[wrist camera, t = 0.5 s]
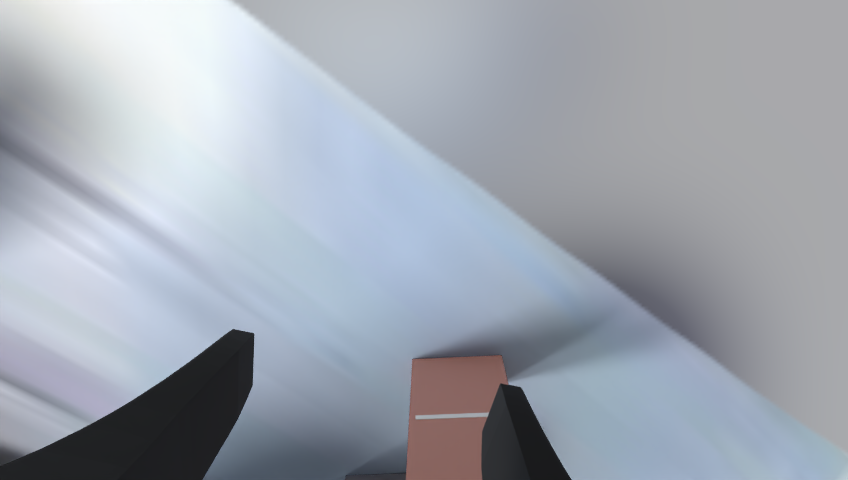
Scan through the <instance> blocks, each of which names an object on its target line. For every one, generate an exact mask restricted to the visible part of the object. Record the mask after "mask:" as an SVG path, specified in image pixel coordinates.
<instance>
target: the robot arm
mask: <svg viewBox="0 0 848 480" xmlns="http://www.w3.org/2000/svg"><path fill="white" fill-rule="evenodd" d="M253 357H254V333H250V332H245V331H240V330H235V329H233V330H231V331H229V332H228V333H227V334H225V335H224V336H223V337H221V338H220V339H219V340H218V341H216V342H215V343H214V344H212V345H211V346H210V347H208V348H207V349H206V350H205V351H203V352H202V353H201V354H199V355H198V356H197V357H195V358H194V359H192V360H191V361H190V362H188V363H187V364H186V365H184V366H183V367H181V368H180V369H179V370H177V371H176V372H174V373H173V374H172V375H170V376H169V377H167V378H166V379H164V380H163V381H161V382H160V383H158V384H157V385H155V386H154V387H152V388H151V389H149V390H148V391H146V392H145V393H143V394H141V395H140V396H138V397H137V398H135V399H134V400H132V401H130V402H129V403H127V404H125V405H124V406H122V407H120V408H119V409H117V410H115V411H114V412H112V413H110V414H108V415H107V416H105V417H103V418H101V419H99V420H98V421H96V422H94V423H92V424H90V425H88V426H86V427H84V428H83V429H81V430H79V431H77V432H75V433H73V434H71V435H69V436H67V437H65V438H62V439H60V440H58V441H56V442H54V443H52V444H50V445H48V446H46V447H44V448H42V449H40V450H37V451H35V452H33V453H31V454H28V455H26V456H24V457H22V458H19V459H17V460H15V461H12V462H10V463H7V464H5V465H3V466H0V480H202V479H203V478H204V476H205V474H206V472H207V471H208V469H209V467H210V466H211V464H212V462H213V461H214V459H215V457H216V456H217V454H218V452H219V450H220V449H221V447H222V445H223V444H224V442H225V440H226V439H227V437H228V435H229V433H230V432H231V430H232V428H233V426H234V425H235V423H236V421H237V419H238V417H239V415H240V413H241V411H242V409H243V406H244V404H245V402H246V400H247V397H248V395H249V393H250V390H251V388H252V386H253ZM481 470H482V480H571V478H570V477H569V475H568V473H567V472H566V470H565V469H564V467H563V465H562V463H561V462H560V460H559V458H558V457H557V455H556V453H555V451H554V450H553V448H552V446H551V444H550V442H549V441H548V439H547V437H546V435H545V433H544V431H543V430H542V428H541V426H540V424H539V422H538V420H537V418H536V416H535V414H534V412H533V410H532V408H531V406H530V404H529V402H528V400H527V398H526V396H525V394H524V392H523V390H522V389H521V387H516V386H511V385H506V384H502V383H500V385H499V388H498V390H497V393H496V396H495V398H494V401H493V404H492V406H491V409H490V412H489V414H488V417H487V420H486V422H485V425H484V427H483V430H482V450H481Z"/></svg>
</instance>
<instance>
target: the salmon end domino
mask: <svg viewBox="0 0 848 480" xmlns="http://www.w3.org/2000/svg"><path fill="white" fill-rule="evenodd" d="M500 383H502V384H506V385H508V381H507V376H506V372H505V368H504V363H503V359H502V355H494V356H471V357H449V358H426V359H412V377H411V395H410V413H409V431H408V450H407V468H406V480H482V470H481V450H482V430H483V427H484V425H485V422H486V420H487V417H488V414H489V412H490V409H491V406H492V404H493V401H494V398H495V396H496V393H497V390H498V388H499V385H500Z"/></svg>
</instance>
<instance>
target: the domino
mask: <svg viewBox="0 0 848 480" xmlns="http://www.w3.org/2000/svg"><path fill="white" fill-rule="evenodd" d="M345 480H406V473H399V474H370V475H346V478H345Z"/></svg>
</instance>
